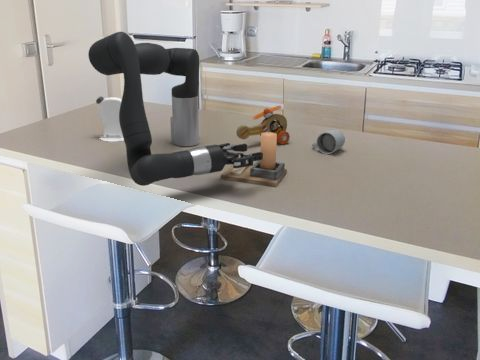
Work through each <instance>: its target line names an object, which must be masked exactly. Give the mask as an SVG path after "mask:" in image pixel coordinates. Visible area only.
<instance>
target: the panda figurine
mask: <svg viewBox="0 0 480 360" xmlns="http://www.w3.org/2000/svg"><path fill="white" fill-rule="evenodd" d="M95 101H96V104H98V106H97V115H98V116H97V117H98V118H99V120H100V121H101V122H103V130H104V131H103V132H104V133H103V135H104V137H105V138H99V140H100V139H101V140H103V141H102V142H104V141H108V142H107V143H119V142H118V141H121V142H124V138H123V134H122V131H121V127H120V122H119V111H120V106H121V101H122V97H121V98H120V97H116V96H113V97H112V96H111V97H106V98H104V97H103V96H98V98H97V99H96V100H95ZM101 140H100V141H101Z"/></svg>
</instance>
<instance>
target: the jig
mask: <svg viewBox="0 0 480 360" xmlns="http://www.w3.org/2000/svg"><path fill="white" fill-rule="evenodd" d="M287 169H288V168H285V162H280V161H276V164H275V171H274V170H266V169H260V160H258V161H255V163H253V166H247V167H241V168H233V165H229V167H228V168H227V169H226V170H224V171H223V173H221V174H220V179H221V180H226V181H233V182H240V183H245V184H246V183H247V184H253V185H259V186H267V187H272V188H273V187H274V188H276V187H277V186H279V184H280V183H281V182H282V180H283V178H284V177H285V176H286V175H287V171H288V170H287Z"/></svg>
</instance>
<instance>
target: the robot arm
mask: <svg viewBox="0 0 480 360" xmlns="http://www.w3.org/2000/svg"><path fill="white" fill-rule="evenodd" d="M87 54H88V60H89V63H90V64H91V65H92V68H93V69H94V70H95V71H97V72H98V73H100V74H102V75H105V76H113V75H119V74H123V79H124V80H123V81H124V82H123V92H122V96H121V99H122V101H121V106H120V111H119V122H120V127H121V131H122V134H123V138H124V141H123V142H124V144H125V148H126V149H125V150H126V161H127V167H128V168H127V169H128V173H129V176H130V178H131V179H132V181H133V182H134V183H135V184H136V185H138V186H142V187H145V186H146V187H147V186H149V185H151V184H153V183H155V182H159V181H164V180H168V179H181V178H187V177H193V176H202V175H207V174H212V173H213V174H214V173H218V172H221V171H223V169H224V168H225V166H226V165H229V166H231V165H233V168H241V167H247V166H253V165H254V162H257V161H258V160H262V159H263V153H262V152H260V151H258V152H253V153H245V152H247V151H248V144H247V143H241V144H233V143H232V144H231V143H230V142H227V143H226V142H225V143H221V144H211V145H204V146H199V147H198V146H197V147H193V148H190V149H186V150H181V151H180V150H179V151H173V152H171V153H168V152H167V153H153V154H152V151H151V146H152V142H153V139H152V138H153V137H152V132H151V129H150V126H149V122H148V118H147V114H146V109H145V104H144V96H143V85H142V84H143V83H142V77H141V76H142V75H147V76H148V75H149V76H150V75H152V76H154V75H156V76H157V75H161V74H163V73H165V74H167V75H172V76H176V77H177V76H178V77H184V79H185V80H184V82H183V83H181V84H177V85H174V86H172V88H171V107H172V109H171V110H172V114H171V115H172V116H171V117H170V119H169V121H170V135H171V136H170V139H171V140H170V141H171V143H170V144H173V145H176V146H179V147H192V146H196V145H199V144H200V121H199V120H200V118H199V115H200V114H199V110H200V109H199V87H200V55H199V53H198V51H197V49H194V48H187V47H186V48H185V47H172V48H165V47H164V46H162V45H161V44H158V43H152V42H139V43H135V42H134V41H133V39H132V37H131V36H130V35H129V34H128V33H127V32H125V31H117V32H114V33H112V34H109V35H107V36H105V37H103V38H101V39H98V40H96V41H95V42H93V43H92V44H91V46H90V47H89V50H88V53H87Z"/></svg>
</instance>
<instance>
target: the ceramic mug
mask: <svg viewBox="0 0 480 360" xmlns="http://www.w3.org/2000/svg"><path fill="white" fill-rule="evenodd" d="M345 141H346V138H345V135H344V133H343V132H342V131H340V130H339V129H330V130H327V131H323V132H322V133H320V134H319V135H318V136H317V138H316V142H314V143H312V145H311V146H312V149H318V150H319V151H320V153H322V154H325V155H331V154H333V153H334V152H337V151H338V150H340V149H341V148H342V147H343V146H344V145H345Z"/></svg>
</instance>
